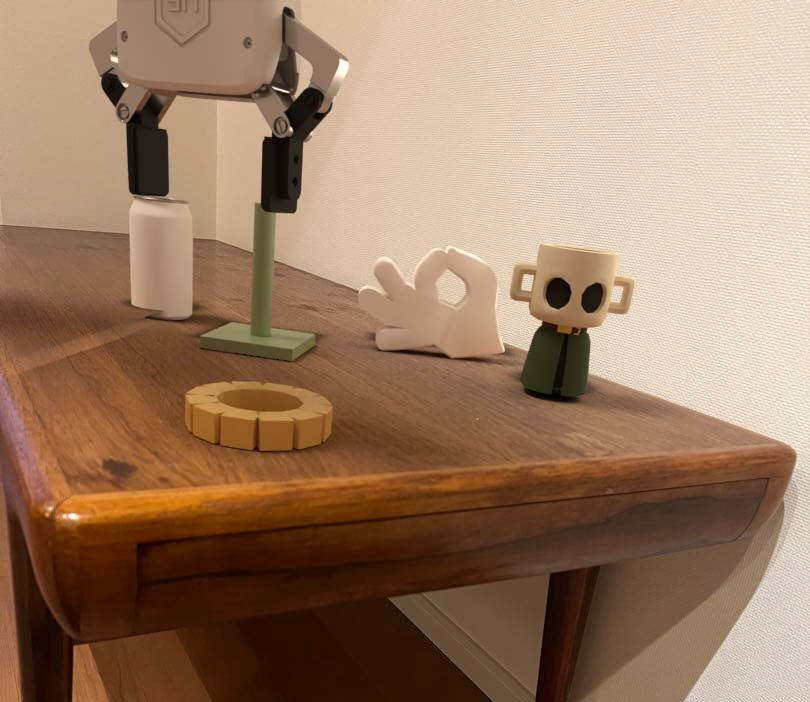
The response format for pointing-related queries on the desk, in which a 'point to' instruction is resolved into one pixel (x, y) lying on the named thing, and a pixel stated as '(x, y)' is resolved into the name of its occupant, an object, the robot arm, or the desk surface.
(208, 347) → the post
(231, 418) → the ring
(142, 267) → the can
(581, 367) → the character mug
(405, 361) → the desk surface
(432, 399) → the desk surface
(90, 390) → the desk surface
